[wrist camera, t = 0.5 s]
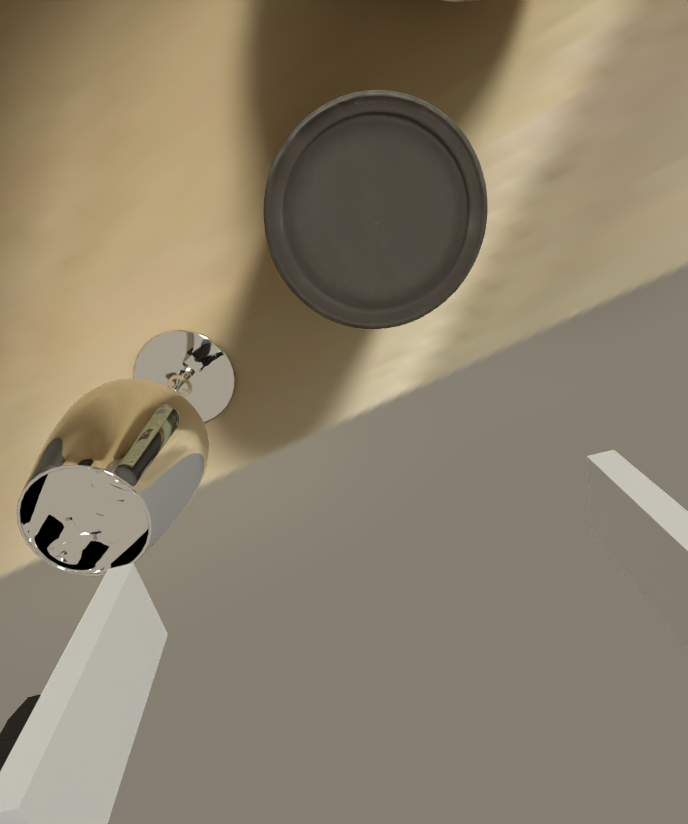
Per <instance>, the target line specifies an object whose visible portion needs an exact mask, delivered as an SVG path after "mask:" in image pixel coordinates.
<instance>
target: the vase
mask: <svg viewBox="0 0 688 824" xmlns="http://www.w3.org/2000/svg"><path fill="white" fill-rule="evenodd" d="M443 1H453V2H469V1H478V0H443Z"/></svg>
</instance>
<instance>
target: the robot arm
mask: <svg viewBox="0 0 688 824" xmlns="http://www.w3.org/2000/svg"><path fill="white" fill-rule="evenodd" d="M587 468H588V482H589V498H590V512H591V527H592V537H593V538H594V539H595V541H596V542H597V543H598V544H599V545H600V547H601V548H602V549H603V550H604V551H605V553H606V554H607V555H608V556H609V558H610V559H611V560H612V561H613V562H614V564H615V565H616V566H617V567H618V568H619V569H620V571H621V572H622V573H623V574H624V576H625V577H626V578H627V579H628V580H629V582H630V583H631V584H632V585H633V586H634V587H635V589H636V590H637V591H638V592H639V594H640V595H641V596H642V597H643V598H644V600H645V601H646V602H647V603H648V604H649V606H650V607H651V608H652V609H653V610H654V611H655V613H656V614H657V615H658V617H659V618H660V619H661V620H662V621H663V623H664V624H665V625H666V626H667V627H668V629H669V630H670V631H671V632H672V633H673V635H674V636H675V637H676V638H677V639H678V640H679V642H680V643H681V644H682V645H683V647H684V648H685V649H686V650H687V651H688V511H686V510H685V509H684V508H683V507H682V506H680V505H679V504H678V503H676V501H674V500H673V499H672V498H671V497H670V496H668V495H667V494H666V493H665V492H664V491H662V490H661V489H660V488H659V487H658V486H657V485H655V484H654V483H653V482H652V481H650V480H649V479H648V478H647V477H646V476H645V475H643V474H642V473H641V472H640V471H638V470H637V469H636V468H635V467H634V466H633V465H631V464H630V463H629V462H628V461H627V460H625V459H624V458H623V457H622V456H621V455H619V454H618V453H617V452H616V451H615V450H611V451H607V452H603V453H599V454H594V455H590V456H587ZM166 638H167V632H166V630H165V628H164V626H163V624H162V622H161V619H160V617H159V615H158V613H157V611H156V609H155V607H154V605H153V603H152V600H151V598H150V596H149V595H148V592H147V590H146V588H145V586H144V584H143V582H142V580H141V577H140V575H139V573H138V571H137V569H136V567H135V565H134V563H131V564H127V565H123V566H119V567H114V568H110V569H108V570H107V572H106V574H105V575H104V578H103V579H102V581H101V583H100V585H99V587H98V589H97V591H96V593H95V594H94V596H93V598H92V600H91V602H90V604H89V606H88V607H87V609H86V611H85V613H84V615H83V617H82V619H81V621H80V622H79V624H78V626H77V628H76V630H75V632H74V634H73V636H72V638H71V639H70V641H69V643H68V645H67V647H66V649H65V651H64V653H63V654H62V656H61V658H60V660H59V662H58V664H57V666H56V668H55V670H54V671H53V673H52V675H51V677H50V679H49V681H48V683H47V685H46V686H45V688H44V690H43V692H42V694H41V695H36V696H32V697H28V698H27V699H26V700H25V702H24V703H23V704H22V705H21V706H20V707H19V708H18V709H17V710H16V712H15V713H14V714H13V715H12V716H11V717H10V718H9V719H8V721H7V723H6V725H5V727H4V728H3V730H2V732H1V733H0V824H108V821H109V818H110V815H111V811H112V808H113V805H114V802H115V799H116V796H117V792H118V789H119V786H120V783H121V780H122V777H123V774H124V771H125V767H126V764H127V761H128V758H129V755H130V752H131V748H132V745H133V742H134V739H135V736H136V732H137V729H138V726H139V723H140V720H141V717H142V714H143V710H144V707H145V704H146V701H147V698H148V695H149V692H150V688H151V685H152V682H153V679H154V676H155V673H156V669H157V667H158V663H159V660H160V657H161V654H162V650H163V648H164V644H165V641H166Z"/></svg>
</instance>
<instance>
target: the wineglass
mask: <svg viewBox="0 0 688 824" xmlns="http://www.w3.org/2000/svg"><path fill="white" fill-rule="evenodd" d="M234 386H235V376H234V370H233V367H232V364H231V361H230V360H229V358H228V356H227V354H226V353H225V352H224V350H223V349H222V348H221V347H220V346H219V345H218V344H217V343H215V342H214V341H213V340H212V339H210V338H208V337H206V336H204V335H203V334H200V333H197V332H194V331H189V330H170V331H167V332H163V333H160V334H158V335H157V336H155V337H153V338H151V339H150V340H149V341H148V342H147V343H145V345H144V346H143V347H142V349H141V350H140V351H139V353H138V355H137V358H136V360H135V365H134V379H120V380H115V381H111V382H108V383H105V384H103V385H101V386H99V387H97V388H95V389H93V390H91V391H90V392H88V393H86V394H85V395H84V396H82V397H81V398H80V399H79V400H78V401H76V402H75V403H74V404H73V405H72V406H71V407H70V409H69V410H68V411H67V412H66V413H65V415H64V416H63V417H62V418H61V420H60V421H59V422H58V424H57V425H56V426H55V428H54V429H53V431H52V432H51V434H50V436H49V437H48V439H47V441H46V443H45V445H44V447H43V449H42V450H41V452H40V454H39V456H38V458H37V460H36V462H35V464H34V467H33V469H32V471H31V473H30V476H29V478H28V480H27V482H26V484H25V487H24V489H23V491H22V493H21V496H20V498H19V500H18V505H17V523H18V526H19V529H20V532H21V535H22V536H23V538H24V540H25V542H26V543H27V545H28V546H29V547H30V548H31V549H32V550H33V552H34V553H35V554H36V555H38V556H39V557H40V558H41V559H43V560H44V561H45V562H47V563H49V564H50V565H52V566H54V567H55V568H58V569H60V570H63V571H65V572H69V573H72V574H77V575H84V576H102V575H105V574H106V572H107V570H108V569H110V568H114V567H119V566H123V565H127V564H131V563H135V562H136V561H137V560H138V559H139V558H140V557H141V556H142V555H143V554H144V553H145V552H146V551H147V550H148V549H149V547H151V546H152V545H153V543H155V541H156V540H157V539H158V538H159V537H160V536H161V535H162V534H163V533H164V532H165V530H166V529H167V528H168V527H169V526H170V525H171V524H172V523H173V521H174V520H175V519H176V518H177V517H178V515H179V514H180V513H181V512H182V511H183V510H184V508H185V507H186V506H187V504H188V503H189V502H190V500H191V498H192V497H193V495H194V493H195V491H196V490H197V488H198V486H199V484H200V482H201V480H202V478H203V476H204V473H205V470H206V466H207V462H208V457H209V440H208V434H207V430H206V428H205V425H204V423H203V422H206V421H208V420H210V419H212V418H214V417H216V416H217V415H218V414H220V413H221V412H222V411H223V410H224V409H225V407H226V406H227V405H228V403H229V401H230V400H231V398H232V395H233V391H234Z"/></svg>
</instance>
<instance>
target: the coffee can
mask: <svg viewBox="0 0 688 824" xmlns="http://www.w3.org/2000/svg"><path fill="white" fill-rule="evenodd" d="M486 222H487V192H486V184H485V180H484V175H483V172H482V169H481V166H480V162H479V160H478V158H477V155H476V153H475V151H474V149H473V148H472V146H471V144H470V142H469V140H468V139H467V137H466V136H465V135H464V133H463V132H462V131H461V130H460V129H459V127H458V126H457V125H456V124H455V123H454V122H453V120H451V119H450V118H449V117H448V116H447V115H446V114H444V113H443V112H442V111H441V110H439V109H438V108H436V107H435V106H433V105H432V104H430V103H428V102H426V101H424V100H422V99H420V98H417V97H415V96H413V95H410V94H406V93H402V92H398V91H389V90H365V91H359V92H353V93H350V94H346V95H343V96H340V97H338V98H336V99H334V100H332V101H329V102H327V103H326V104H324V105H322V106H321V107H319V108H318V109H316V110H315V111H313V112H312V113H311V114H309V115H308V116H307V117H306V118H304V119H303V120H302V121H301V122H300V123H299V124H298V125H297V126H296V127H295V128H294V130H293V131H292V132H291V133H290V134H289V136H288V137H287V139H286V140H285V142H284V144H283V145H282V147H281V149H280V150H279V152H278V154H277V156H276V158H275V160H274V163H273V165H272V167H271V171H270V174H269V177H268V181H267V186H266V190H265V198H264V224H265V233H266V238H267V242H268V246H269V249H270V252H271V256H272V259H273V261H274V263H275V265H276V267H277V269H278V271H279V273H280V275H281V277H282V278H283V280H284V281H285V283H286V284H287V285H288V287H289V288H290V289H291V290H292V292H293V293H294V294H295V295H296V296H297V297H298V298H299V299H300V300H301V301H302V302H304V303H305V304H306V305H307V306H308V307H310V308H311V309H312V310H314V311H315V312H317V313H318V314H320V315H322V316H323V317H325V318H327V319H329V320H332V321H334V322H337V323H340V324H342V325H346V326H351V327H355V328H365V329H381V328H390V327H396V326H400V325H403V324H407V323H409V322H412V321H414V320H417V319H419V318H421V317H423V316H424V315H426V314H428V313H430V312H431V311H433V310H434V309H435V308H437V307H438V306H440V305H441V304H442V303H443V302H445V301H446V300H447V299H448V298H449V297H450V296H451V295H452V294H453V293H454V292H455V291H456V290H457V289H458V287H459V286H460V285H461V284H462V282H463V281H464V279H465V278H466V276H467V275H468V273H469V272H470V270H471V268H472V266H473V265H474V263H475V261H476V258H477V256H478V253H479V250H480V248H481V245H482V242H483V238H484V235H485V229H486Z"/></svg>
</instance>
